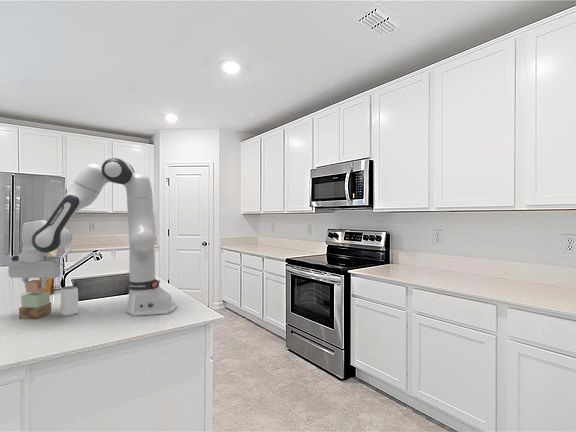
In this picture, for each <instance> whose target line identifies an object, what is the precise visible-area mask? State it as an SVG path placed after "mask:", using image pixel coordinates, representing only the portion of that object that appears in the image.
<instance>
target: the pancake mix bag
mask: <svg viewBox="0 0 576 432" xmlns="http://www.w3.org/2000/svg"><path fill="white" fill-rule="evenodd" d="M59 250H60V248H59V249H56V250H54V251H52V252H48V253H47V256H50V257H53V256H55V257H56V258H57V255H58V252H59ZM38 280H41V278H38ZM40 292H50V296H51V295H53V294H55V278H48V280H47V281H46V283H45V287H44V290H42V291H40Z"/></svg>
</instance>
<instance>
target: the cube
mask: <svg viewBox="0 0 576 432" xmlns="http://www.w3.org/2000/svg"><path fill="white" fill-rule="evenodd" d="M42 281H43V280H39V279H32V280H28V282H26V288H25V293H26V294H29V293H37V292H40V291H42V290H44V288H39V284H41V283H42Z"/></svg>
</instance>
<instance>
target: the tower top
mask: <svg viewBox="0 0 576 432" xmlns="http://www.w3.org/2000/svg"><path fill="white" fill-rule="evenodd" d="M50 296H51V295H50V292H37V293H26V294H23V295H21V296H20V297H21V307H23V308H38V307H41V306H43V305H46V304H48V303H51V300H50V299H51V297H50Z"/></svg>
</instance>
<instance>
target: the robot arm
mask: <svg viewBox="0 0 576 432" xmlns="http://www.w3.org/2000/svg"><path fill="white" fill-rule="evenodd" d="M133 167H134V166H132V165H131V164H130V163H129V162H127V161H126V160H123V159H120V158H118V157H111V158H108V159H106V160H104V162H103V163H102V165H100V164H98V163H94V162H93V163H90V162H89V163H87V164H86V165H84V167H83V168H82V169H81V170H80V171H79V173H78V174H77V176H76V177H75V179H74V180H73V182H72V184H71V186H70V187H69V188H68V190H67V192H66V194H65V196H64V197H63V199H62V200H61V201H60V203H59V204H58V205H57V207H56V209H55V210H54V211H53V213H52V214H51V215H50V217H49V218H48V220H45V219H42V218H41V219H39V218H38V219H31V220H28V221H25V222H24V223H23V224H22V229H21V242H22V248H21V252H19V253H18V254H14V255H11V256H9V261H10V262H9V263H8V270H7V271H8V276H9V277H10V278H11V279H14V278H15V279H16V278H18V279H19V278H20V279H22V282H23V284H24V287H25V289H26V282H28V281H29V280H30V279H33V278H35V279H40V278H41V280H43V281H42V283H41V284H39V288H44V287H45V283H46V281H47V280H48V278H54V279H55V278H57V277H58V278H59V277H60V276H61V274H62V273H61V266H60V259H59V258H58V257H57V256H56V257H55V256H53V257H50V256H47V253H48V252H52V251H54V250H56V249H59V250H60V249H62V248H65V247H66V246H68V245H69V244H71V242H72V240H73V234H72V232H71V230H69V229H68V228H67V227H66V226H67V224H68V223H69V222H70V220H71V218H72V217H73V216H74V214H76V213H77V212H79V211H80V210H82V209H83V208H87V207H88V206H90V205H92V204H93V203H94V202H95V200H96V199H97V198H98V197H99V195H100V193H101V191H102V189H103V188H104V186H106V184H108V183H113V184H116V185H123V186H124V188H125V190H126V204H127V205H126V206H127V225H128V238H129V239H128V240H129V241H128V243H129V244H128V245H129V258H128V259H129V261H128V262H129V265H128V266H129V272H128V273H129V279H128V284H127V285H128V286H127V289H128V290H127V291H128V298H127V299H128V300H127V305H126V308H125V312H126V313H127V314H130V315H131V316H132V317H134V316H135V317H137V316H139V317H140V316H154V315H167V314H170V313H172V312H174V311H175V310H176V309H177V308H178V305H177V303H175V302H173V300H172V296H171V294H170V293H169V292H168V291H167V290H165V289H163V288H162V287H160V283H161V282H160V281H161V280H160V279H159V280H157V279H156V258H155V257H156V255H155V245H156V240H157V239H156V238H157V237H156V236H157V235H156V225H155V215H154V199H153V198H154V197H153V189H152V183H151V180H150V178H149V177H148V176H147V175H146V174H141V173H135V169H134V168H133Z"/></svg>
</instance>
